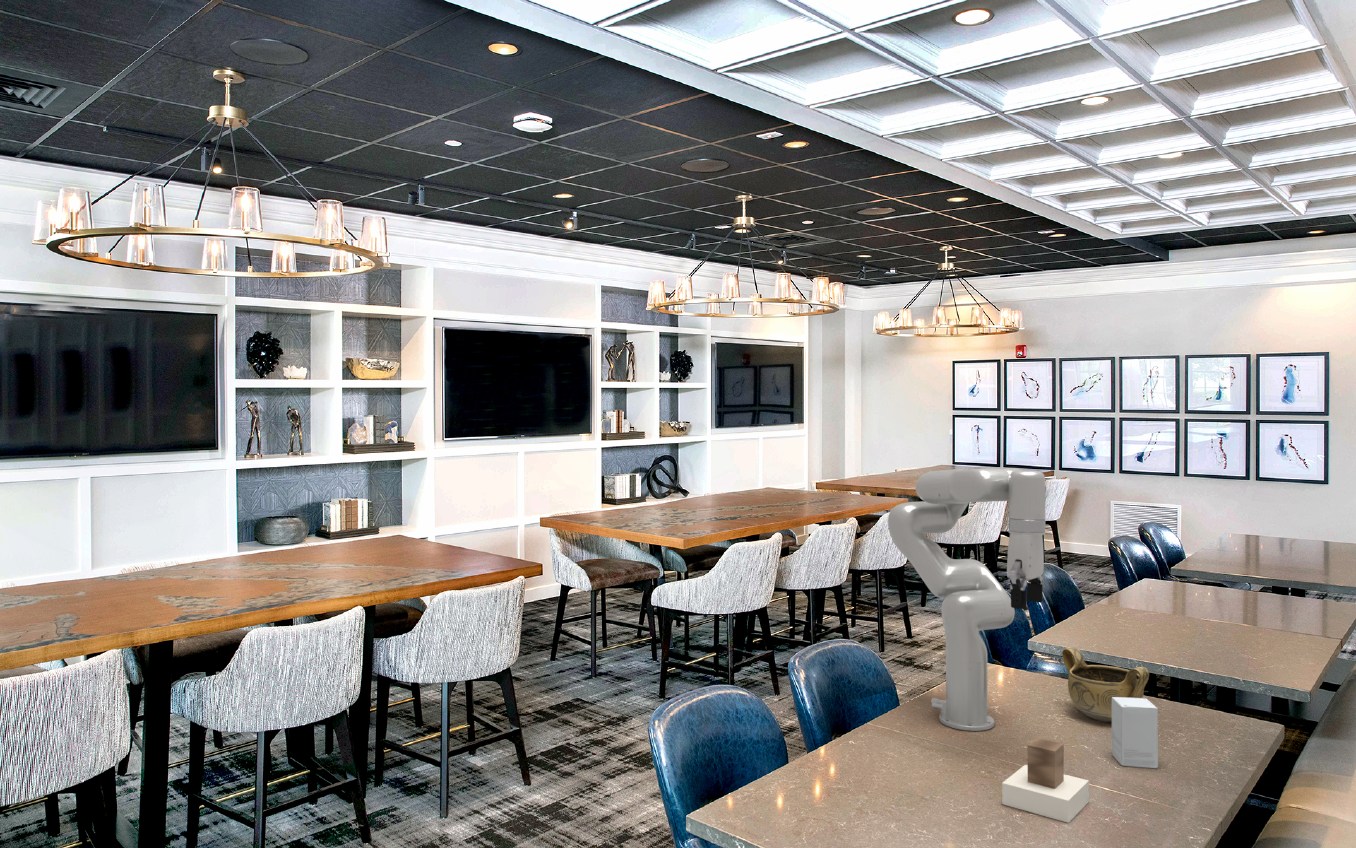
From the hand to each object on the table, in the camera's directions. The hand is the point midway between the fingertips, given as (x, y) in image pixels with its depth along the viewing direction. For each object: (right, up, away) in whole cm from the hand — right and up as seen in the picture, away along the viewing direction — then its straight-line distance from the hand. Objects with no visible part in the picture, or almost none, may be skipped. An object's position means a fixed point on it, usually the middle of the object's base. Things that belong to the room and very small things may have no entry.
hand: (1027, 604), depth 193 cm
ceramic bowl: (+28, -33, +23) cm, 49 cm away
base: (-7, -32, -26) cm, 42 cm away
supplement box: (+21, -33, -5) cm, 39 cm away
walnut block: (-7, -28, -26) cm, 39 cm away
